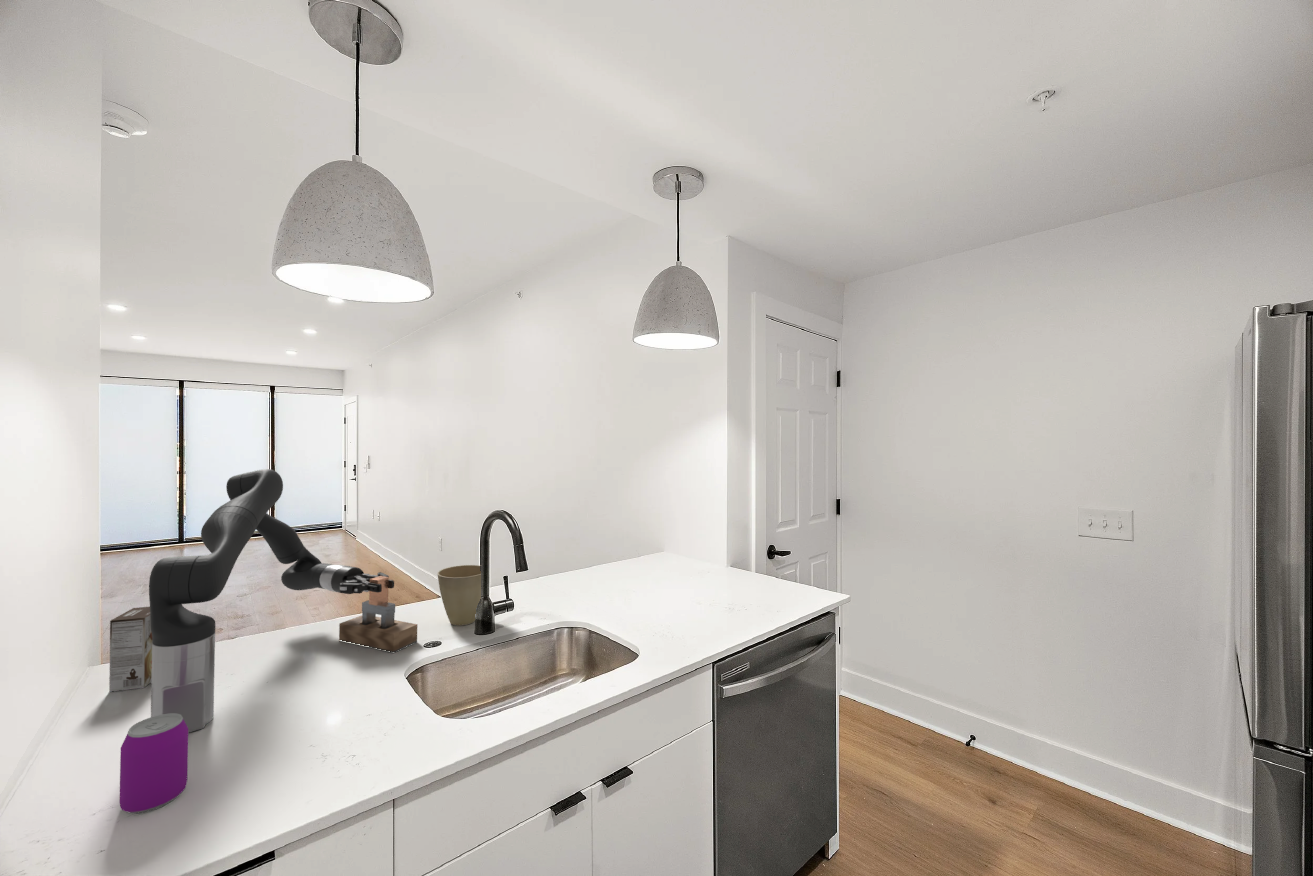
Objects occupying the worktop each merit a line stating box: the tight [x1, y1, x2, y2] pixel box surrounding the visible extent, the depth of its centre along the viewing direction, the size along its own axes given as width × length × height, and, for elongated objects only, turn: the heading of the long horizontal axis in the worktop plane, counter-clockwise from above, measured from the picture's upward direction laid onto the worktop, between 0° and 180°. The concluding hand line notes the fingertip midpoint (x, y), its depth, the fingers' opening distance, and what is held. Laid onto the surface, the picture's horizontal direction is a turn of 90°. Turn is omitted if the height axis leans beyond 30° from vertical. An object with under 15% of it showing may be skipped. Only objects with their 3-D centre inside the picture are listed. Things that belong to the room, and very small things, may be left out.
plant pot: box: [436, 564, 481, 627], centre depth 161 cm, size 15×15×16 cm
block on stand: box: [361, 576, 396, 629], centre depth 144 cm, size 9×4×14 cm, turn 70°
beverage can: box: [119, 713, 189, 815], centre depth 81 cm, size 8×8×12 cm
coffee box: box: [108, 606, 152, 693], centre depth 119 cm, size 9×6×16 cm
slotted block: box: [338, 615, 418, 653], centre depth 144 cm, size 20×8×5 cm, turn 70°
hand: (386, 586), depth 144 cm, fingers closed on block on stand, 3 cm apart
